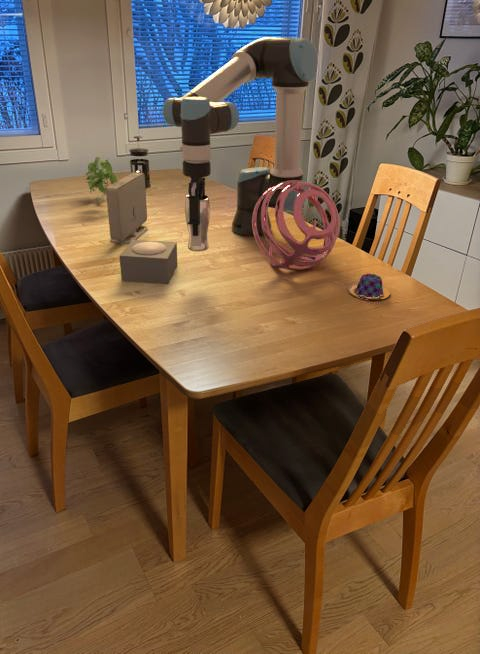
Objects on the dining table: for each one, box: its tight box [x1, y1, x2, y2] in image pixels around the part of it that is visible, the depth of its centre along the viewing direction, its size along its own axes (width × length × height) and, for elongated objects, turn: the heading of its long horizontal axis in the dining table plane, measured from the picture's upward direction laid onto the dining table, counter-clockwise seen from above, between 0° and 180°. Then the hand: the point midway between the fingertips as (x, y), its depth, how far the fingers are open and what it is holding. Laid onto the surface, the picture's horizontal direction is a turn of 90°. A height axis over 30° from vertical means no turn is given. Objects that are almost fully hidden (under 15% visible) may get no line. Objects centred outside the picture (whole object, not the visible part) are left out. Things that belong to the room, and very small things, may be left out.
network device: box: [105, 172, 149, 245], centre depth 183 cm, size 26×9×20 cm, turn 168°
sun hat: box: [348, 273, 384, 301], centre depth 149 cm, size 12×12×5 cm
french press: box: [128, 135, 151, 189], centre depth 245 cm, size 12×9×23 cm
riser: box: [119, 239, 178, 285], centre depth 156 cm, size 14×14×8 cm
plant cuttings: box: [84, 156, 118, 205], centre depth 220 cm, size 35×17×22 cm
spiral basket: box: [252, 180, 341, 272], centre depth 162 cm, size 28×28×27 cm
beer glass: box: [184, 194, 211, 252], centre depth 147 cm, size 7×7×15 cm
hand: (198, 241), depth 150 cm, fingers closed on beer glass, 6 cm apart
